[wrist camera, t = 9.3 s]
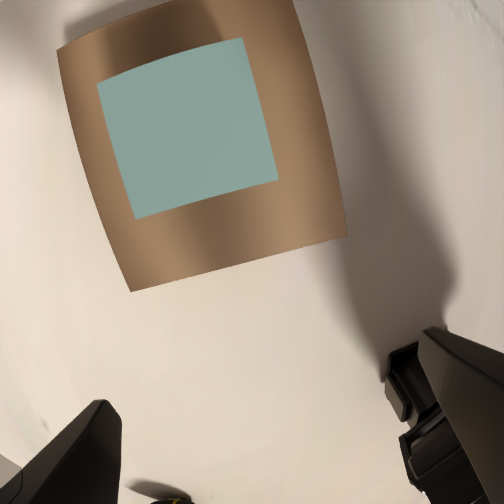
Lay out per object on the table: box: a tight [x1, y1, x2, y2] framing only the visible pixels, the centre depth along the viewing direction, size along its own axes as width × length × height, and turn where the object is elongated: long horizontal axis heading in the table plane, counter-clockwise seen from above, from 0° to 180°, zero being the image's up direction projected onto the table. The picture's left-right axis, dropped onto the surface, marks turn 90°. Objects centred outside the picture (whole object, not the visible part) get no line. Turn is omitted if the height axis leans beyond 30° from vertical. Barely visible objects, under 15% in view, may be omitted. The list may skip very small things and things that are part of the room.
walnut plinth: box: [57, 0, 347, 292], centre depth 15 cm, size 12×14×3 cm
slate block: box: [97, 37, 279, 220], centre depth 11 cm, size 5×5×4 cm
